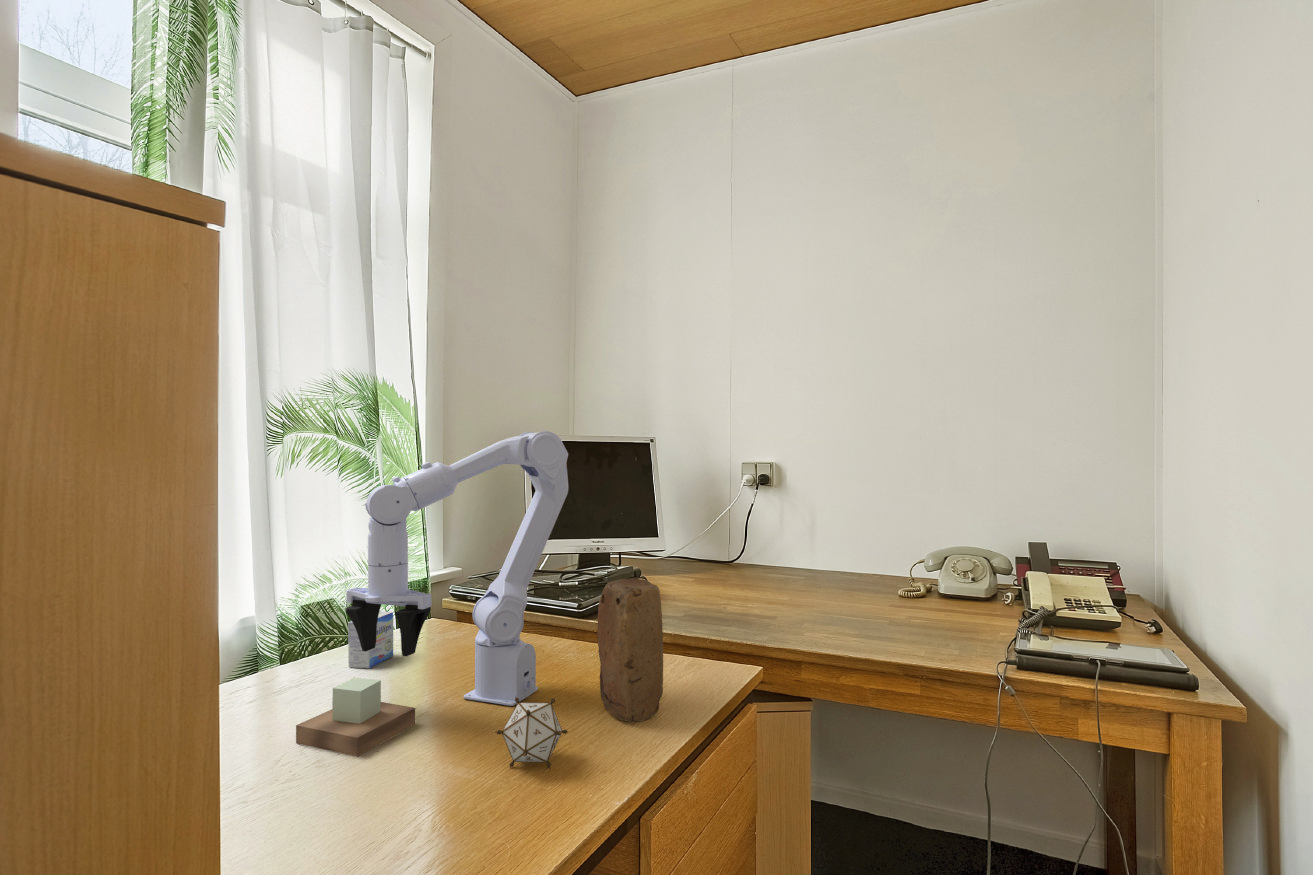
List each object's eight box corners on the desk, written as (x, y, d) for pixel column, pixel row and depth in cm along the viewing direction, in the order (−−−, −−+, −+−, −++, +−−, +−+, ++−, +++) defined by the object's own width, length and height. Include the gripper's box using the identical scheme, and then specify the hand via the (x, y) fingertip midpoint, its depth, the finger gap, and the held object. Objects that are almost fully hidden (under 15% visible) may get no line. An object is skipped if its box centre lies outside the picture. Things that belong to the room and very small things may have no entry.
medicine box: (369, 669, 125) (369, 622, 125) (347, 667, 126) (347, 620, 126) (393, 656, 133) (394, 611, 133) (373, 655, 134) (373, 610, 134)
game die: (535, 799, 86) (524, 757, 80) (490, 759, 91) (477, 717, 85) (583, 744, 92) (576, 702, 86) (539, 710, 96) (529, 667, 90)
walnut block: (415, 728, 100) (415, 707, 100) (357, 760, 90) (357, 737, 90) (357, 717, 104) (357, 697, 104) (295, 746, 94) (296, 725, 94)
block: (667, 718, 103) (667, 585, 103) (623, 729, 99) (623, 590, 99) (633, 695, 112) (633, 573, 112) (591, 704, 108) (591, 577, 108)
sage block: (380, 711, 99) (380, 680, 99) (360, 723, 95) (360, 691, 95) (353, 707, 100) (354, 677, 100) (332, 720, 96) (332, 688, 96)
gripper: (330, 565, 104) (331, 654, 104) (409, 570, 99) (409, 664, 99) (365, 557, 110) (365, 641, 110) (440, 562, 105) (440, 650, 105)
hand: (388, 651), depth 105 cm, fingers open, 7 cm apart
